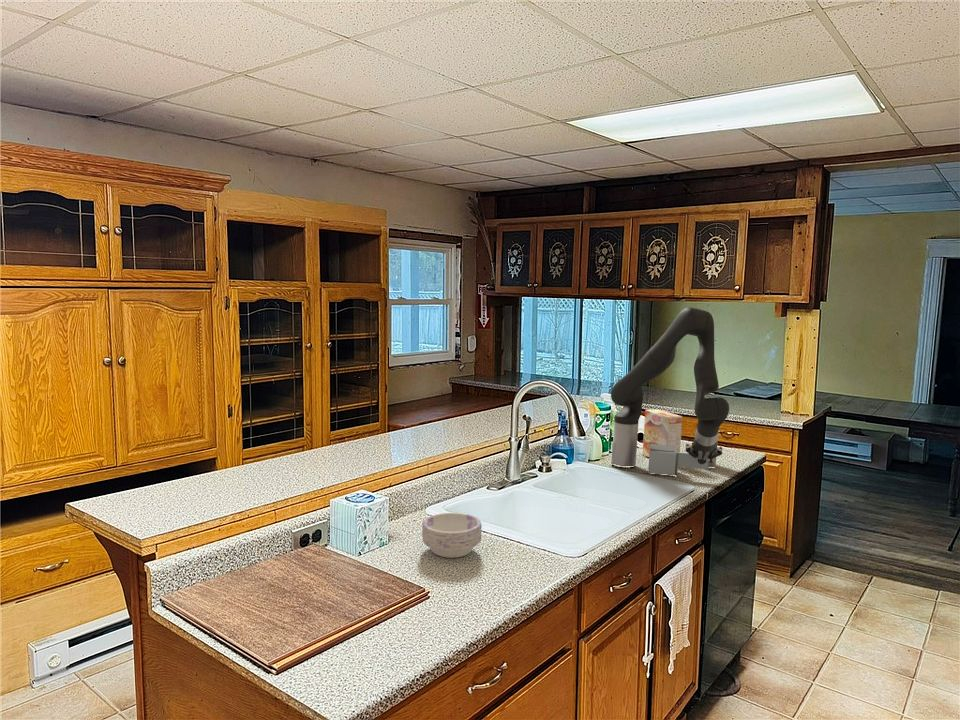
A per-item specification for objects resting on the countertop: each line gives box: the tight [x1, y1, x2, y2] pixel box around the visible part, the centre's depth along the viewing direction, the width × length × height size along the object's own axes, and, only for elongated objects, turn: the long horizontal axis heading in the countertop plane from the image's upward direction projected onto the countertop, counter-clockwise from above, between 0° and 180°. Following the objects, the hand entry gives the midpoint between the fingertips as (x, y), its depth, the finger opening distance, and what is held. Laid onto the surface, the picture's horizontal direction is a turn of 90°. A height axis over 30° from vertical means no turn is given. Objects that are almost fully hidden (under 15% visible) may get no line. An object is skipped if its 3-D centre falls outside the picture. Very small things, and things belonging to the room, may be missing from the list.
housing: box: [648, 444, 675, 466], centre depth 253 cm, size 9×9×10 cm
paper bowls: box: [421, 512, 483, 559], centre depth 172 cm, size 15×15×8 cm
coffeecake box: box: [642, 408, 683, 457], centre depth 271 cm, size 15×7×20 cm, turn 25°
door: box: [648, 450, 709, 477], centre depth 246 cm, size 21×1×9 cm, turn 75°
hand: (701, 462), depth 242 cm, fingers closed
